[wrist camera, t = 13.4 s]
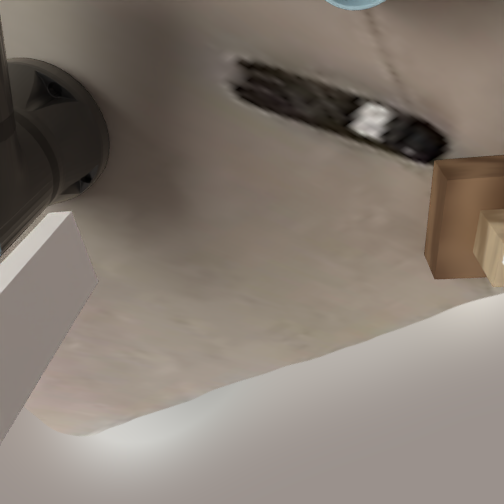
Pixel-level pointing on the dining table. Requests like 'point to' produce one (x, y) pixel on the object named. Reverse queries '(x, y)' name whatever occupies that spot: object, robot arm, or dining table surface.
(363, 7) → the cup
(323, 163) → the dining table surface
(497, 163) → the walnut pedestal
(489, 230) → the oak block
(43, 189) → the robot arm
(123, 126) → the dining table surface
